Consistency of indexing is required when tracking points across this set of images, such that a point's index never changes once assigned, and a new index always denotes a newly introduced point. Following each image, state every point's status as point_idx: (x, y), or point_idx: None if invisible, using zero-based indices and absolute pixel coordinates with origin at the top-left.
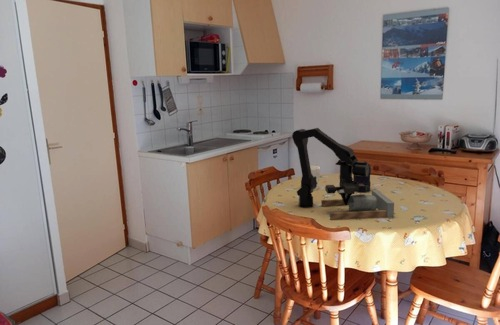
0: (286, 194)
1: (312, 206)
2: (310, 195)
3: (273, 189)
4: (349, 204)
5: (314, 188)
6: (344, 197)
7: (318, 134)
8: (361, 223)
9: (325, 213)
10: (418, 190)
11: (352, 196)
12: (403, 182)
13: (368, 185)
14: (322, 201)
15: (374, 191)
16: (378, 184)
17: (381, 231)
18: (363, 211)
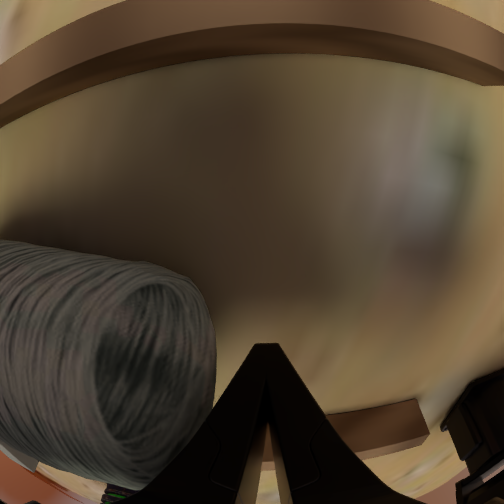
0: (446, 468)
1: (472, 383)
2: (498, 446)
3: (447, 480)
4: (202, 347)
5: (490, 498)
6: (313, 466)
7: None
8: None
9: (476, 253)
10: None
11: (119, 467)
12: (43, 470)
13: (106, 501)
14: (425, 430)
15: (5, 449)
16: (96, 491)
17: None
18: (39, 68)
